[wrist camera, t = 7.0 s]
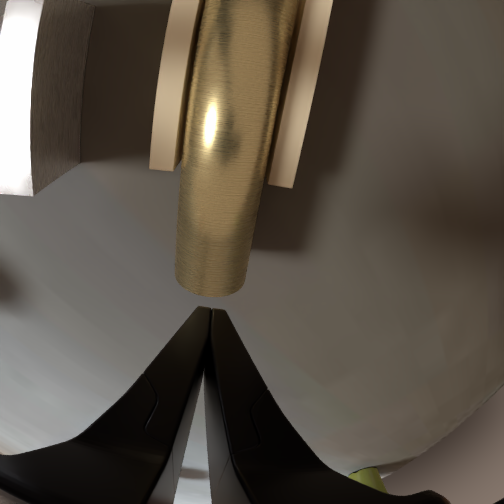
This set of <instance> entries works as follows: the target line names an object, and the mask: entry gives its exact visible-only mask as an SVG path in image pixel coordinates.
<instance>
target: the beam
mask: <svg viewBox="0 0 504 504" xmlns="http://www.w3.org/2000/svg"><path fill="white" fill-rule="evenodd" d="M205 2H206V0H173V1H172V5H171V10H170V14H169V19H168V24H167V30H166V35H165V40H164V46H163V52H162V58H161V64H160V71H159V78H158V85H157V93H156V101H155V109H154V118H153V128H152V139H151V151H150V165H149V169H155V170H165V171H174V169H175V168H176V166H177V165H178V163H179V162H180V161H181V160H182V155H183V145H184V136H185V127H186V119H187V111H188V103H189V95H190V88H191V81H192V75H193V68H194V62H195V56H196V50H197V44H198V38H199V33H200V27H201V22H202V17H203V12H204V7H205ZM332 3H333V0H298V4H297V10H296V15H295V20H294V25H293V30H292V36H291V41H290V46H289V51H288V56H287V62H286V67H285V72H284V77H283V82H282V88H281V93H280V98H279V103H278V109H277V114H276V119H275V124H274V130H273V135H272V140H271V145H270V151H269V156H268V161H267V166H266V172H265V175H266V178H267V182H268V184H269V185H275V186H281V187H287V188H292V187H293V183H294V179H295V174H296V170H297V166H298V162H299V157H300V153H301V149H302V144H303V140H304V135H305V131H306V126H307V122H308V118H309V113H310V109H311V104H312V99H313V95H314V90H315V86H316V81H317V76H318V72H319V67H320V62H321V57H322V53H323V48H324V43H325V38H326V33H327V28H328V23H329V18H330V13H331V8H332Z"/></svg>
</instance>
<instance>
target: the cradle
mask: <svg viewBox="0 0 504 504" xmlns="http://www.w3.org/2000/svg"><path fill="white" fill-rule="evenodd" d="M94 11H95V6H92V5H90V4H87V3H85V2H82V1H79V0H9V1H7V5H6V9H5V14H4V15H2V16H0V194H12V195H24V196H34V195H36V194H37V193H38V192H40V191H41V190H42V189H44V188H45V187H46V186H48V185H49V184H51V183H52V182H53V181H55V180H56V179H58V178H59V177H60V176H62V175H63V174H65V173H66V172H68V171H69V170H71V169H72V168H74V167H75V166H77V165H78V164H80V135H81V111H82V97H83V85H84V75H85V66H86V58H87V51H88V44H89V38H90V32H91V27H92V21H93V16H94Z"/></svg>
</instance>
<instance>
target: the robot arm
mask: <svg viewBox="0 0 504 504" xmlns="http://www.w3.org/2000/svg"><path fill="white" fill-rule="evenodd" d="M203 373H204V399H205V419H206V436H207V451H208V465H209V477H210V489H211V499H212V504H451V503H450V502H449V501H448V500H447V499H446V498H445V497H444V496H442V495H440V494H438V493H436V492H434V491H432V490H426V491H423V492H419V493H416V494H412V495H408V496H396V495H391V494H387V493H384V492H382V491H379V490H377V489H374V488H372V487H369V486H367V485H365V484H362V483H360V482H358V481H355V480H353V479H351V478H349V477H346V476H344V475H342V474H340V473H338V472H336V471H334V470H332V469H331V468H329V467H328V466H327V465H325V464H324V463H323V462H322V461H321V460H320V459H319V458H318V457H317V456H316V454H315V453H314V452H313V451H312V450H311V448H310V447H309V446H308V445H307V443H306V442H305V441H304V440H303V439H302V437H301V436H300V435H299V434H298V432H297V431H296V430H295V429H294V427H293V426H292V425H291V423H290V422H289V421H288V419H287V418H286V417H285V415H284V414H283V412H282V411H281V409H280V408H279V406H278V405H277V403H276V401H275V400H274V398H273V396H272V394H271V393H270V391H269V390H267V389H268V388H267V386H266V384H265V382H264V381H263V379H262V377H261V375H260V373H259V372H258V370H257V368H256V366H255V364H254V363H253V361H252V359H251V357H250V355H249V353H248V352H247V350H246V348H245V346H244V344H243V342H242V340H241V339H240V337H239V335H238V333H237V331H236V329H235V327H234V325H233V324H232V322H231V320H230V318H229V316H228V314H227V312H226V311H225V310H223V309H216V308H213V309H212V310H211V308H209V307H202V306H198V307H197V308H196V309H195V310H194V312H193V313H192V314H191V315H190V316H189V318H188V319H187V320H186V321H185V322H184V324H183V325H182V326H181V327H180V328H179V330H178V331H177V332H176V333H175V335H174V336H173V337H172V338H171V339H170V341H169V342H168V343H167V344H166V345H165V347H164V348H163V349H162V350H161V351H160V353H159V354H158V355H157V356H156V357H155V359H154V360H153V361H152V362H151V364H150V365H149V366H148V367H147V368H146V370H145V371H144V372H143V374H141V376H140V377H139V378H138V379H137V380H136V382H135V383H134V384H133V385H132V386H131V387H130V388H129V389H128V391H127V392H126V393H125V394H124V395H123V396H122V397H121V398H120V399H119V400H118V401H117V402H116V403H115V404H114V405H112V406H111V407H110V408H109V409H108V410H107V411H106V412H105V413H104V414H102V415H101V416H100V417H99V418H98V419H97V420H96V421H95V422H93V423H92V424H91V425H90V426H89V427H88V428H87V429H86V430H84V431H83V432H82V433H81V434H79V435H78V436H76V437H74V438H73V439H71V440H68V441H66V442H62V443H59V444H55V445H52V446H48V447H45V448H41V449H37V450H33V451H29V452H25V453H21V454H16V455H1V454H0V504H173V502H174V497H175V493H176V489H177V484H178V480H179V475H180V471H181V467H182V462H183V458H184V454H185V450H186V445H187V441H188V437H189V433H190V428H191V424H192V420H193V416H194V412H195V408H196V404H197V399H198V395H199V391H200V387H201V383H202V378H203ZM494 504H504V498H502V499H501V500H499V501H497V502H495V503H494Z"/></svg>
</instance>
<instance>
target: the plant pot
mask: <svg viewBox="0 0 504 504" xmlns="http://www.w3.org/2000/svg"><path fill="white" fill-rule="evenodd" d="M348 477H349V478H351V479H353V480H355V481H358V482H360V483H362V484H365V485H367V486H369V487H372V488H374V489H377V490H379V491H382V492H384V493H387V491H386V489H385V486H384V484H383V482H382V479H381V477H380V475H379V472H378V470H377V468H373V467H370V468H366V469H362V470H359V471H358V472H357V473H352V474H350V475H349V476H348ZM387 494H388V493H387Z"/></svg>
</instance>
